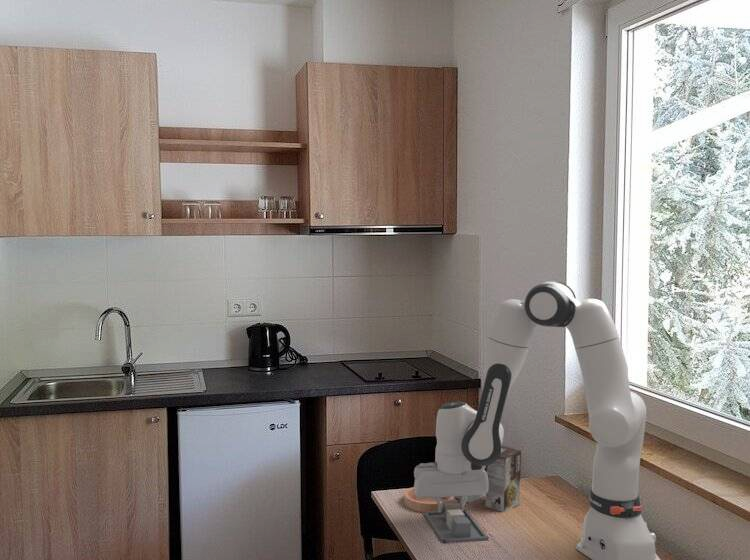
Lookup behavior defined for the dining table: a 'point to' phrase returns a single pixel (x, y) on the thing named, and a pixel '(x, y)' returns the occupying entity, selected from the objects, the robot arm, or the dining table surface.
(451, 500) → the cube
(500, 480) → the coffee box
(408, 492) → the bowl
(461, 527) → the grey cube
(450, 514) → the beige cube
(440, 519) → the tray
